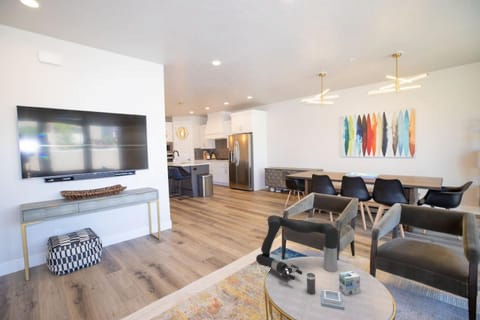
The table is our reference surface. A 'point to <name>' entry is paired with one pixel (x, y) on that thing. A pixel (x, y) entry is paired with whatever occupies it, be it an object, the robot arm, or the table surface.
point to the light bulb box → (349, 282)
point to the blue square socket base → (332, 299)
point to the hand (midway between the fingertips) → (298, 275)
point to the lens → (311, 283)
